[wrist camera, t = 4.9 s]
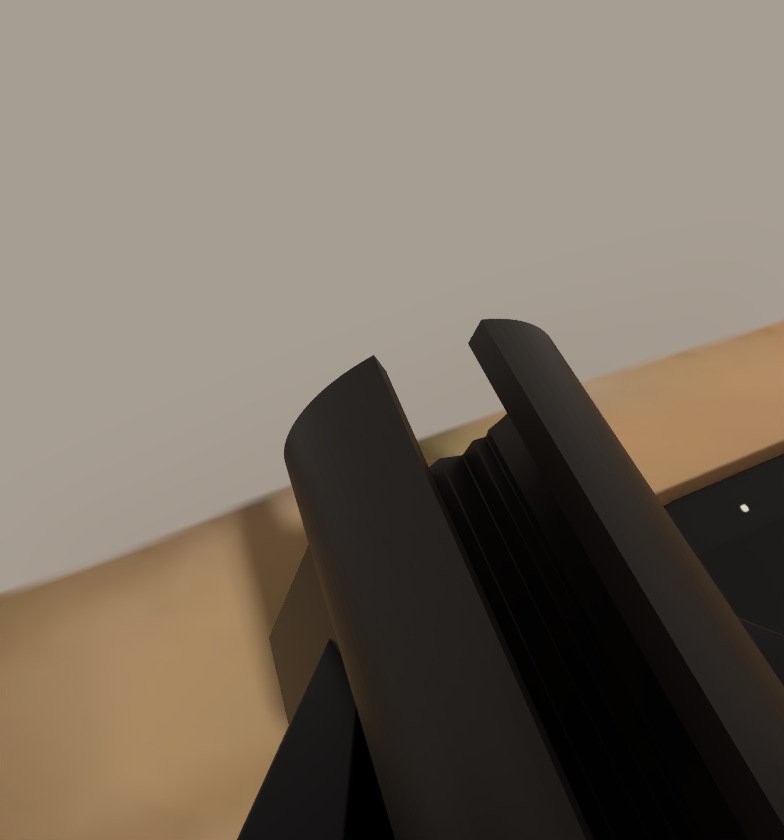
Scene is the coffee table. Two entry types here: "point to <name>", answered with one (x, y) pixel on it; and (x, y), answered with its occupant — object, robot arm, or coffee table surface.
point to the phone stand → (523, 621)
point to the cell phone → (741, 539)
